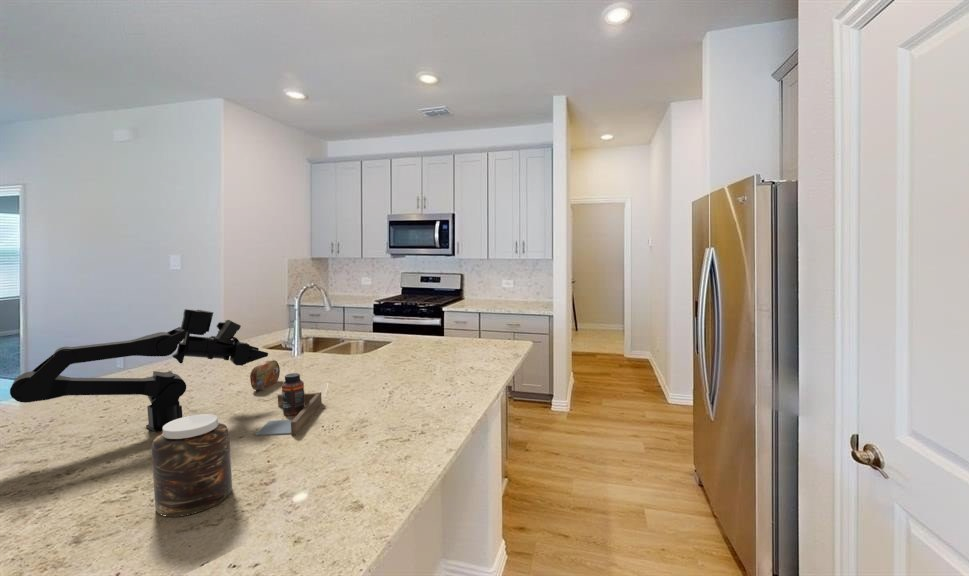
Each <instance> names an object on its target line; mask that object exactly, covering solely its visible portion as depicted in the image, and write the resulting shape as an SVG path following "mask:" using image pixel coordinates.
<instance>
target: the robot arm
mask: <svg viewBox="0 0 969 576" xmlns="http://www.w3.org/2000/svg"><path fill="white" fill-rule="evenodd" d="M182 315H183V318H182V322H181V326H178V327H176V328H174V329H172V330H169V331H167V332H165V331H163V332H162V331H159V332H155V333H151V334H146V335H144V336H140V337H137V338H134V339H129V340H122V341H121V340H120V341H112V342H105V343H94V344H86V345H78V346H77V345H76V346H62V347H59V348H57V349H56V350H55V351H54V353H52V354H51V355H50V356H49V357H47V358H46V359H45V360H44V361H42V362H41V363H39V365H37V366H36V367H35V368H34V369H33V370H31V371H26V372H24V373H21V374H20V375H18V376H17V377H16V378H15V379H14V380H13V383H12V384H11V386H10V389H9V395H10V396H11V398H12V399H14V400H15V401H16V402H19V403H25V404H26V403H34V402H43V401H47V400H49V401H50V400H53V399H58V398H61V397H67V396H69V397H70V396H121V395H122V396H124V395H125V396H126V395H127V396H133V395H134V396H135V395H136V396H138V395H141V396H142V395H143V396H147V399H148V400H149V402H150V403H151V404H149V405H147V420H148V424H146V425H145V427H146V428H147V429H148V430H151V431H152V432H154V433H157V432H161V431H163V426H164V425H165V424H167V423H168V422H170V421H173V420H176V419H179V418H182V417H183V407H182V404H180V401H179V400H180V398H181V397H182V396H183V395H184V394H185V393H186V391H187V384H186V381H185V380H184V379H183V378H182V377H181V376H180V375H179V374H177V373H173V372H172V370H169V371H165V372H164V371H157V370H153V371H152V373H153V374H152V375H151V376H148V377H141V378H140V377H133V378H132V377H70V376H65V375H64V376H63V375H61V374H62V373H63V372H64V371H65V370H66V369H67V368H68V367H69V366H70V365H74V364H81V363H89V362H96V361H102V360H112V359H117V358H118V359H119V358H125V357H138V356H139V357H168V356H171V357H173V358H174V359H175V360H176V362H178V363H179V364H183V362H184V359H185V357H188V358H189V357H190V358H191V357H192V358H204V359H205V358H207V360H213V359H219V360H220V359H221V360H224V361H231V363H232V364H234V365H235V366H242V367H243V366H244V365H246V364H249V363H252V362H255V361H258V360H261V359H264V358H267V357H268V356H269V353H268V352H267V351H262V350H259V349H260V348H259V347H256V346H253V345H250V344H249V343H248V342H243V341H242V342H241V341H240V340H239V339H238V338H237V337H235V335H236V334H237V332H238V331H239V330H240V329H241V327H242V326H241V325H240V324H239V323H236V322H234V321H232V320H230V319H227V320H224V321H220V322H218V323H217V324H216V326H215V327H216V329H218V331H217V334H216V335H211V336H207V337H206V336H205V334H206V333H207V332H208V333H209V332H210V330H211V329H210V328H211V324H212V321H213V316H214V311H209V310H208V311H207V310H201V309H187V308H185V309H184V310H183V314H182Z"/></svg>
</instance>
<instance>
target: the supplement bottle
mask: <svg viewBox="0 0 969 576" xmlns="http://www.w3.org/2000/svg"><path fill="white" fill-rule="evenodd" d="M304 393H305V383H304V381H303V380H301V374H300V373H297V372H293V373H288V374H285V375H284V382H283V383H282V385H281V394H282V402H283V406H282V413H283V414H284V415H285V416H297V415H298V414H299V413H300V411H301V410H302V409H303V408H304V407H305V406H306V405H305V398H304Z"/></svg>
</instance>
